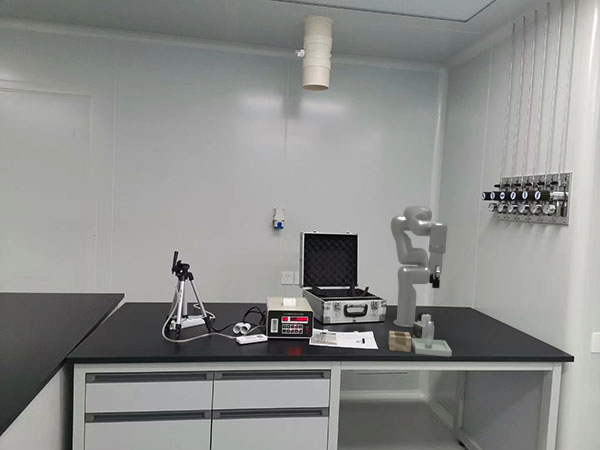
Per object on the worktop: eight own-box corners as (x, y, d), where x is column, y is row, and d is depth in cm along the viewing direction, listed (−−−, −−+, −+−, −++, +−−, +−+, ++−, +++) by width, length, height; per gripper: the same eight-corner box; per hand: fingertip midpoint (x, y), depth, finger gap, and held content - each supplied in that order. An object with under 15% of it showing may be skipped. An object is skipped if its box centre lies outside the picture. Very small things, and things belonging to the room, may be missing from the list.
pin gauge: (424, 346, 205) (425, 320, 205) (431, 347, 205) (432, 321, 204) (425, 348, 202) (426, 322, 201) (432, 349, 202) (434, 322, 201)
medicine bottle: (412, 336, 222) (414, 312, 222) (424, 335, 225) (426, 311, 224) (421, 340, 216) (422, 316, 215) (433, 339, 218) (435, 315, 217)
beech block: (388, 343, 209) (389, 330, 209) (408, 345, 208) (409, 332, 208) (389, 350, 200) (390, 336, 200) (410, 351, 199) (411, 338, 199)
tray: (411, 343, 212) (412, 338, 212) (444, 345, 210) (445, 340, 210) (415, 353, 197) (416, 348, 197) (451, 356, 195) (451, 351, 195)
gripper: (426, 246, 218) (423, 281, 220) (431, 251, 201) (428, 289, 203) (442, 247, 217) (439, 282, 219) (448, 252, 200) (445, 290, 202)
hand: (434, 285), depth 211 cm, fingers open, 9 cm apart
